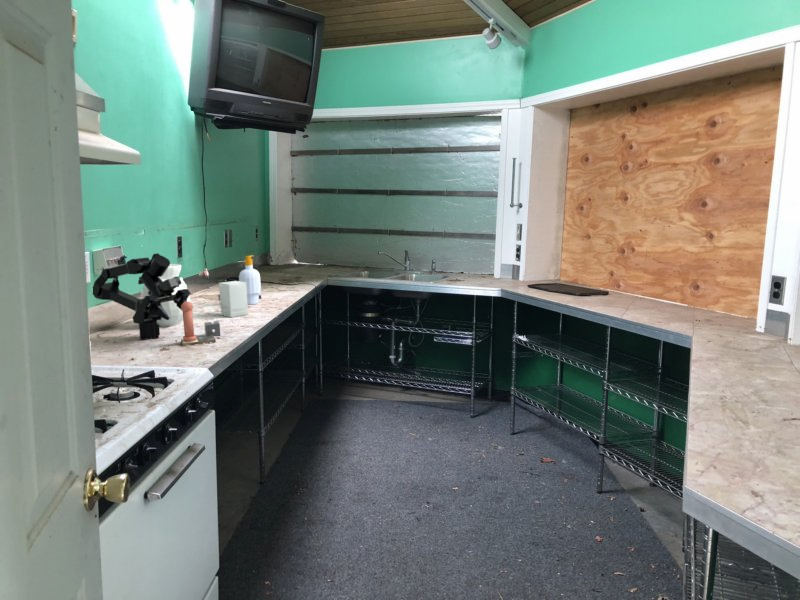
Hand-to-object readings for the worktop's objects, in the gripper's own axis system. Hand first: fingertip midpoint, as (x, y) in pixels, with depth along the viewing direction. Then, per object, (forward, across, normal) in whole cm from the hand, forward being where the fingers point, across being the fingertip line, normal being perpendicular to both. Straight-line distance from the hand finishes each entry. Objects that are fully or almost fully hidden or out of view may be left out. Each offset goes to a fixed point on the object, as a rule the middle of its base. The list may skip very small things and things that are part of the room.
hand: (178, 316), depth 197 cm
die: (+9, +12, +4) cm, 16 cm away
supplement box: (-5, +46, +19) cm, 50 cm away
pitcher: (-14, +20, +28) cm, 37 cm away
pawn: (+9, 0, +3) cm, 9 cm away
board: (+11, +2, +2) cm, 12 cm away
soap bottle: (-14, +70, +28) cm, 77 cm away
